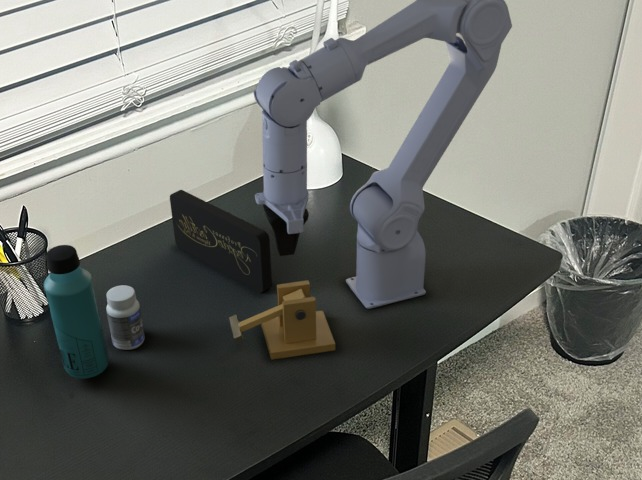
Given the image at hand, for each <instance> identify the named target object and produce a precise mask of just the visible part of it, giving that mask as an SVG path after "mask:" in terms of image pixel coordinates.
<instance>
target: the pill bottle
mask: <svg viewBox="0 0 642 480" xmlns="http://www.w3.org/2000/svg"><path fill="white" fill-rule="evenodd" d="M106 302H107V305H106V308H105V309H106V310H105V311H106V316H107V322H108V328H109V332H110V337H111V342H112V345H113V346H114V347H115V348H116V349H118V350H123V351H130V350H134V349H137V348H139V347H140V346H141V345H142V344H143V343H144V341H145V339H146V338H145V337H146V336H145V330H144V324H143V317H142V311H141V306H140V305H141V304H140V302H139V300H138V299H137V295H136V291H135V289H134V287H133V286H130V285H127V284H126V285H123V284H121V285H116V286H114V287H111V288H110V289H109V290H108V291H107V292H106Z"/></svg>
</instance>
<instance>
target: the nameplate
mask: <svg viewBox="0 0 642 480" xmlns="http://www.w3.org/2000/svg"><path fill="white" fill-rule="evenodd" d="M169 204H170V213H171V218H172V228H173V236H174V241H175V245H176V246H177V248H178V249H180V250H182V251H184V252H186V253H187V254H189V255H190V256H193V257H194V258H196V259H197V260H199V261H202V262H203V263H205V264H206V265H209V266H210V267H212V268H214V269H216V270H218V271H219V272H221V273H223V274H225V275H226V276H227V277H230V278H232V279H234V280H235V281H237V282H239V283H241V284H243V285H244V286H246V287H248V288H250V289H251V290H252V291H253V290H254V291H256V292H257V293H259V294H261V293H263V292H265V291H267V290H268V289H270V288H272V286H273V278H272V259H271V258H272V257H271V240H270V236H269V233H268V232H267V231H266V230H265V229H263V228H260V227H259V226H257V225H255V224H252V223H250V222H248V221H247V220H244V219H242V218H240V217H238V216H236V215H234V214H233V213H230V212H228V211H226V210H224V209H223V208H220V207H217V206H216V205H214V204H211V203H210V202H208V201H206V200H204V199H202V198H200V197H198V196H195V195H193V194H191V193H189V192H188V191H185V190H183V189H179V190H176V191H175V192H172V193H171V194H169Z"/></svg>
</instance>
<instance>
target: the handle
mask: <svg viewBox="0 0 642 480" xmlns="http://www.w3.org/2000/svg"><path fill="white" fill-rule="evenodd" d="M301 298H306V297H305V295H304V293H303V291H302V289H299V290H297V291H294V292H292V293H290V294H288V295H285V296H283V299H284V301H287V300H294V299H301ZM281 315H283V306H282V304H281V305H278V304H277V305H276V306H274V307H271V308H269V309H267V310H265V311H263V312H262V311H261V312H260V313H258V314H255V315H253V316H251V317H249V318H246V319H244V320H242V321H240V319H239V316H238V315H237V314H233V315H232V316H229V317H228V319H229V323H230V329H231V332H232V336H233V340H234V341H235V343H236V344H237V345H238V344H240V343H242V342H245V338H244V335H243V332H246V331H248V330H250V329H253V328H255V327H257V326H261V324H262V323H264V322H267V321H269V320H271V319H274V318H276V317H279V316H281Z"/></svg>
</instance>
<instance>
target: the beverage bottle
mask: <svg viewBox="0 0 642 480" xmlns="http://www.w3.org/2000/svg"><path fill="white" fill-rule="evenodd" d="M45 258H46V259H45V260H46V268H47V271H48V272H49V274H48V275H47V276H46V278H45V280H44V281H43V289H44V292H45V295H46V299H47V302H48V303H47V305H48V309H49V313H50V320H51V321H52V324H53V325H52V326H53V328H54V332H55V337H56V342H57V344H56V345H57V347H58V351H59V356H60V358H61V359H60V361H61V363H62V366H63V369H64V371H65V372H66V373H67V374H68V375H69V376H70V377H72V378H75V379H90V378H94V377H96V376H98V375H100V374H102V373H103V372H104V371H105V370H106V369H107V368H108V364H109V361H110V359H109V351H108V346H107V340H106V336H105V333H104V329H103V325H102V321H101V316H100V312H99V309H98V305H97V300H96V295H95V290H94V285H93V284H94V283H93V278H92V274H91V273H90V272H89V271H88V270H87V269H85V268H83V267H81V266H80V265H81V261H80V258H79V254H78V252H77V249H76V247H74V246H73V245H69V244H60V245H59V244H58V245H55V246H53V247H51V248H49V250H47V252H46V253H45Z"/></svg>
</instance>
